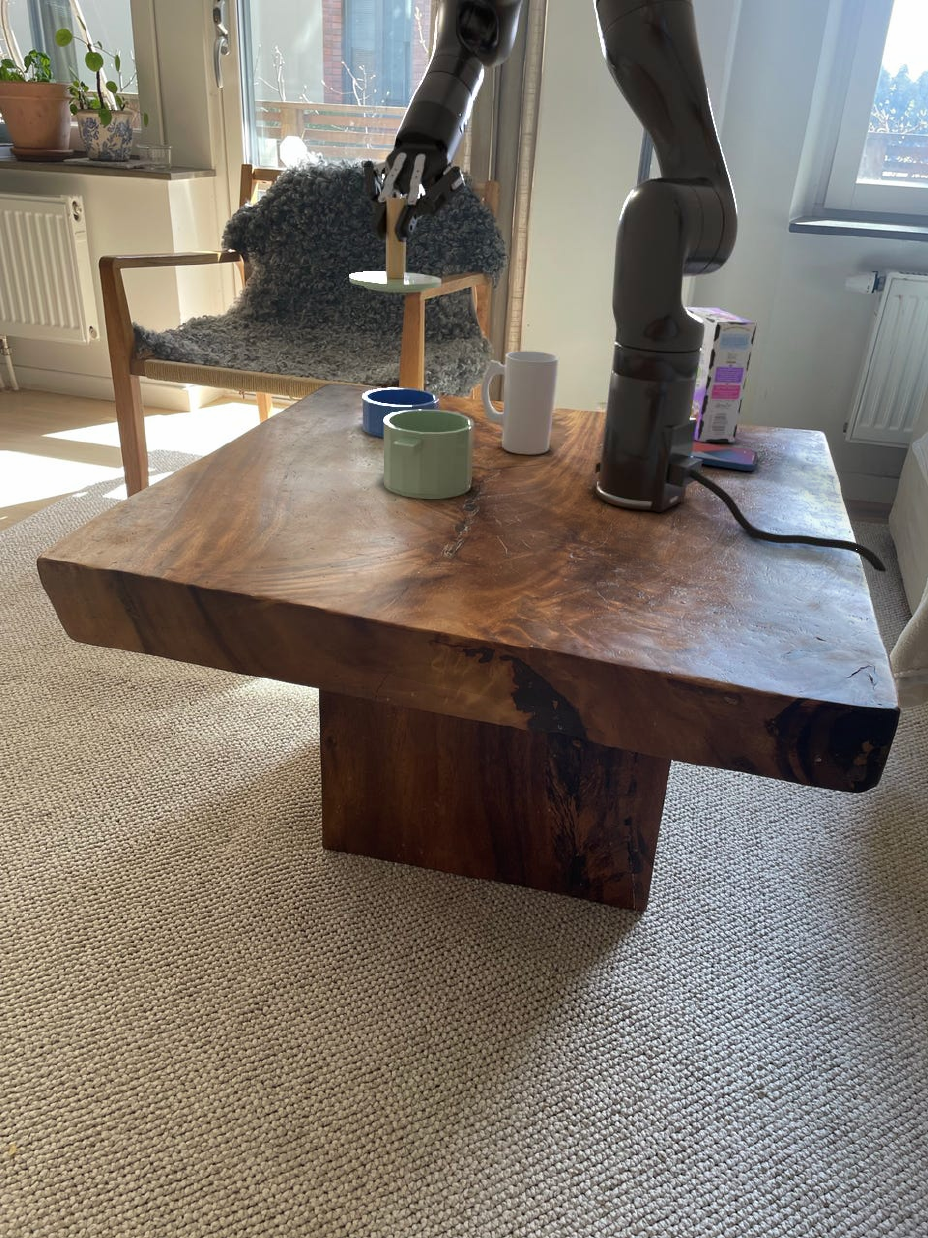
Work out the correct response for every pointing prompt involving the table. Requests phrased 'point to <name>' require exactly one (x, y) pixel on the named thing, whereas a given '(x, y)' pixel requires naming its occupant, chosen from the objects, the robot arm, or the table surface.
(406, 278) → the lid
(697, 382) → the candy box
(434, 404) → the pan
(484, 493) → the table surface
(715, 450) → the smartphone
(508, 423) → the mug
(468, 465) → the pot
